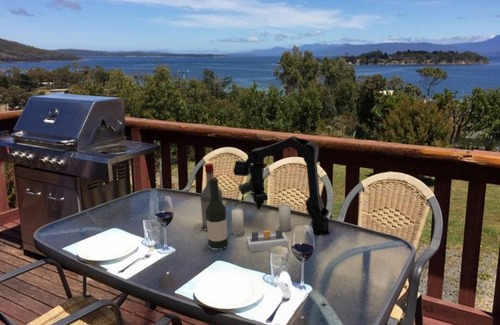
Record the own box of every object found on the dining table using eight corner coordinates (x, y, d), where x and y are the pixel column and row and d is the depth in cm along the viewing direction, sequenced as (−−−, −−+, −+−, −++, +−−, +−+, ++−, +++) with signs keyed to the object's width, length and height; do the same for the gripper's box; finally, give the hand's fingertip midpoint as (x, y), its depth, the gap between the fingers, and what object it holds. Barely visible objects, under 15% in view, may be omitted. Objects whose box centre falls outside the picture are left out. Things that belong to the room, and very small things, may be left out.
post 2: (290, 226, 192) (289, 203, 190) (292, 231, 187) (292, 208, 184) (277, 227, 192) (276, 204, 189) (280, 232, 186) (279, 209, 183)
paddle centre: (269, 236, 175) (269, 230, 174) (270, 238, 173) (270, 231, 173) (263, 237, 174) (263, 230, 174) (264, 239, 173) (264, 232, 172)
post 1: (244, 230, 190) (243, 207, 187) (245, 236, 184) (244, 212, 182) (231, 232, 189) (230, 209, 187) (232, 237, 184) (231, 213, 181)
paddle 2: (281, 235, 175) (281, 229, 174) (282, 237, 174) (282, 230, 173) (275, 236, 175) (275, 229, 174) (276, 237, 174) (276, 231, 173)
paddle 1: (257, 238, 174) (257, 231, 173) (258, 239, 173) (258, 232, 172) (251, 238, 174) (251, 232, 173) (252, 240, 172) (251, 233, 172)
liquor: (222, 231, 191) (218, 167, 183) (202, 231, 191) (197, 168, 183) (224, 223, 200) (220, 161, 192) (205, 223, 200) (200, 162, 192)
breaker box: (284, 238, 180) (283, 231, 179) (288, 248, 171) (288, 240, 170) (246, 242, 178) (246, 235, 177) (249, 252, 169) (249, 244, 169)
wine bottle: (204, 248, 175) (198, 179, 167) (215, 240, 182) (210, 173, 174) (221, 252, 171) (216, 181, 163) (232, 243, 178) (227, 175, 170)
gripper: (237, 172, 199) (239, 203, 203) (241, 184, 181) (243, 218, 185) (260, 170, 200) (262, 201, 204) (267, 182, 182) (268, 216, 186)
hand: (258, 209), depth 195 cm, fingers closed
